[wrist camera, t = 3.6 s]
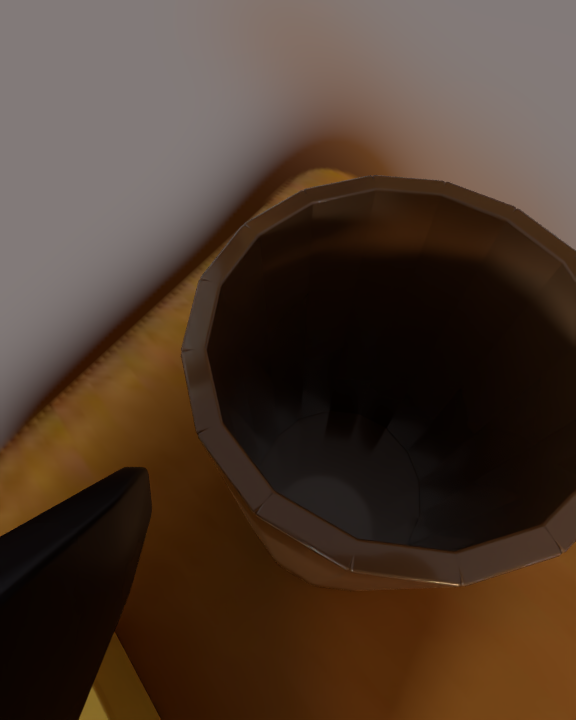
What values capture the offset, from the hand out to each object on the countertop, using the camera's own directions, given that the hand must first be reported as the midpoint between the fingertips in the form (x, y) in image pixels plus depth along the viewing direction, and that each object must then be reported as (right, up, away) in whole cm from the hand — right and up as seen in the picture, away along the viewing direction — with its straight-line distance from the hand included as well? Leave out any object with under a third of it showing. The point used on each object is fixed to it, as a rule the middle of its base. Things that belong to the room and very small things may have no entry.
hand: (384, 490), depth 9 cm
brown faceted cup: (0, -3, +9) cm, 9 cm away
